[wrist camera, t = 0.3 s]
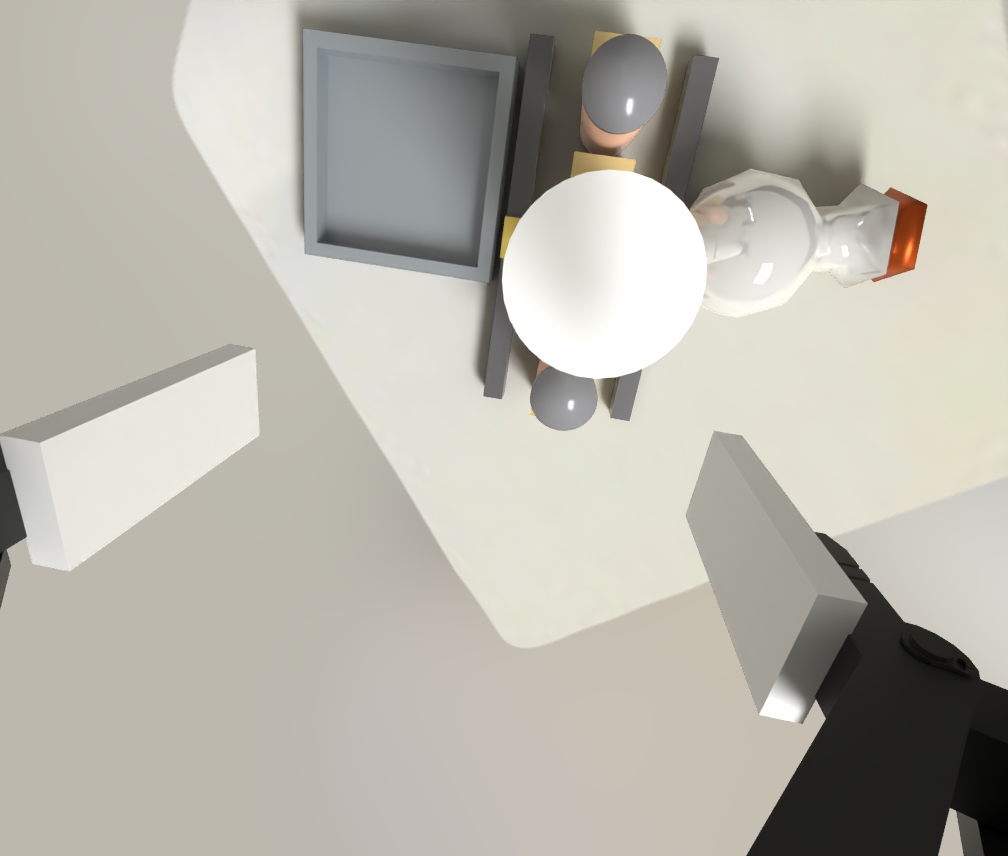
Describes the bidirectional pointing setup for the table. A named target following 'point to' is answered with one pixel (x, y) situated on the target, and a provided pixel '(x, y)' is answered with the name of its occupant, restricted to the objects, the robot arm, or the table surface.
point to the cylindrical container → (604, 274)
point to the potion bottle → (797, 239)
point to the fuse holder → (526, 168)
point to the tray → (405, 153)
